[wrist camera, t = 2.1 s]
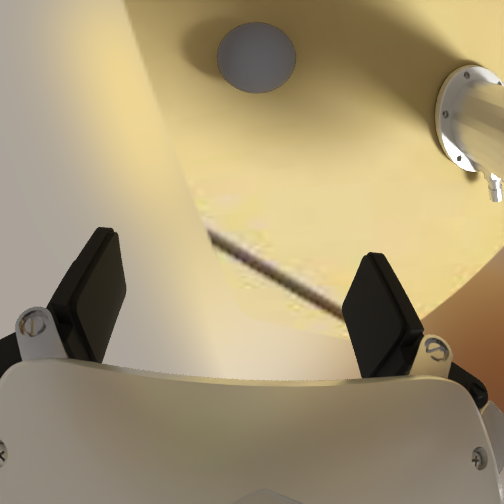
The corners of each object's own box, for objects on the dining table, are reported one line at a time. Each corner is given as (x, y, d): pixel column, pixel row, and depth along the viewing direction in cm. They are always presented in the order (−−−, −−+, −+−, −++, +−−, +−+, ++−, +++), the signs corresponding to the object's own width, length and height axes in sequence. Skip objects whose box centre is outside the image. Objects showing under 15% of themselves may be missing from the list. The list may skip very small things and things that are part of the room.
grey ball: (303, 67, 22) (318, 69, 18) (246, 102, 24) (247, 112, 19) (263, 15, 19) (269, 2, 15) (206, 52, 21) (195, 49, 17)
